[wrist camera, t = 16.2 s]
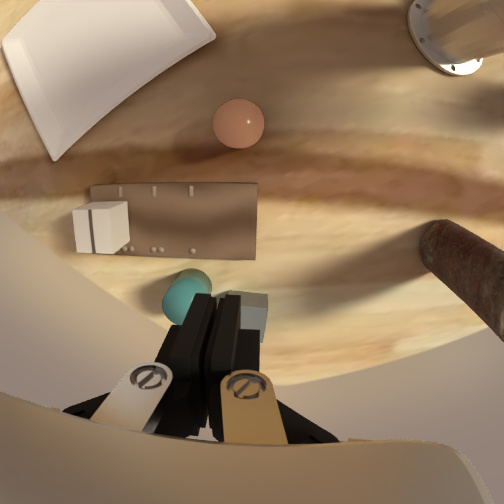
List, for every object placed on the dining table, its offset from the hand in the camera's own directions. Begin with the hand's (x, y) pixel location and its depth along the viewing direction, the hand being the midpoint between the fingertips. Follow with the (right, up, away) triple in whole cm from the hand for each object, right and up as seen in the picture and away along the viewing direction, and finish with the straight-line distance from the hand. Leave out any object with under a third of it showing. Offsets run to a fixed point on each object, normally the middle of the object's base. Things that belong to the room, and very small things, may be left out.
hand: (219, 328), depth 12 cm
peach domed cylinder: (0, +17, +23) cm, 29 cm away
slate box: (0, -5, +30) cm, 31 cm away
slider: (-16, +7, +25) cm, 31 cm away
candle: (+27, +4, +27) cm, 38 cm away
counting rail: (-9, +7, +27) cm, 29 cm away
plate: (-20, +32, +19) cm, 43 cm away
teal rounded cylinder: (-6, -2, +29) cm, 30 cm away
